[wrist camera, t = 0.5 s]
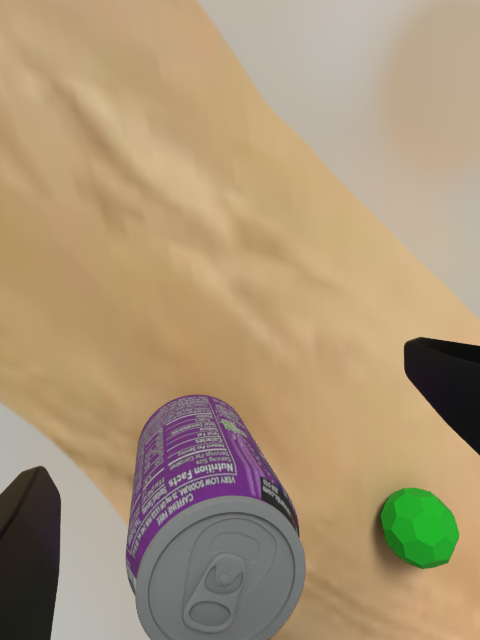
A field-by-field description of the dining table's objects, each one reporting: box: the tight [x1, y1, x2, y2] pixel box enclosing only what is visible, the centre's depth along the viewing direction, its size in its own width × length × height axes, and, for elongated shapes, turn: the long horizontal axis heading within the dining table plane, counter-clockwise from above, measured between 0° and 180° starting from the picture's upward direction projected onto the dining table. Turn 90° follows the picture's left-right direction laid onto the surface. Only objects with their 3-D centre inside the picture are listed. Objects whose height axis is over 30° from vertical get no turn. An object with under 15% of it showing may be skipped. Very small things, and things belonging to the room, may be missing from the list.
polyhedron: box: [381, 488, 459, 569], centre depth 27 cm, size 5×5×5 cm
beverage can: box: [126, 395, 306, 640], centre depth 19 cm, size 7×7×12 cm
